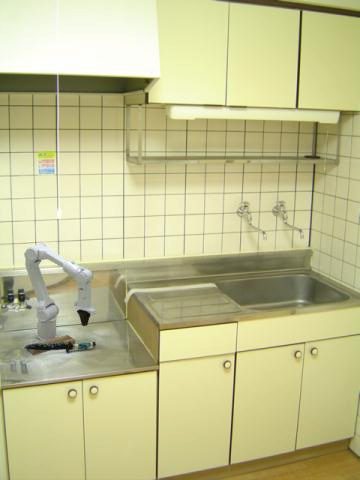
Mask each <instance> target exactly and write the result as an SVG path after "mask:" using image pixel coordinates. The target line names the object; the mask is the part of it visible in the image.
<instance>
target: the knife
mask: <svg viewBox="0 0 360 480" xmlns="http://www.w3.org/2000/svg"><path fill="white" fill-rule="evenodd" d="M35 343H36V342H35ZM29 344H30V345H28V344H26V345H27V346H24V349H26V350H27V349H30V350H50V351H60V350H62V351H63V350H64V351H65V352H66V354H68V353H69V352H70V351H73V350H74V351H76V350H91V349H93V348H95V347H96V346H97V345H96V341H89V342H81V343H75V344H72V343H71V341H69V343H68V344H64V341H63V342H60V343H53V344H46V343H36V344H32V343H29Z"/></svg>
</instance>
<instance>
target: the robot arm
mask: <svg viewBox="0 0 360 480" xmlns="http://www.w3.org/2000/svg"><path fill="white" fill-rule="evenodd" d="M23 255H24V259H25V262H24V263H25V264H24V266H25V268H26V272H27V275H28V277H29V280H30V283H31V286H32V289H33V292H34V295H35V298H36V301H37V304H36V307H35V310H36V318H37V323H36V329H37V334H35V337H36V338H37V339H39V340H40V341H45V340H49V339H53V338H57V337H59V335H57V316H59V313H60V309H59V306H58V305H57V304H56V302H55V299H52V298H50V297H51V296H50V294H49V292H48V288H47V287H46V283H45V280H44V278H43V275H42V271H41V268H40V264H41V262H42V261H43V260H48V261H50V262H52V263H54V264H55V265H57V266H60V267H62V271H63V272H64V273H65V274H67V275H69V276H70V277H72V278H74V279H75V282H76V283H77V301H74V304H73V305H74V307H75V309H76V312H77V314H78V317H79V320H80V325H81V326H82V327H87V326H88V325H89V321H90V318H91V316H95V315H96V309H95V308H94V307H93V306H92V280H93V279H94V273H93V271H92V270H91V269H90V268H84V267H83V266H81V265H79V264H78V263H76V261H75V260H66V259H65V258H64V257H62V256H61V255H60V254H58V253H57V252H55V251H54V250H52V248H51V247H50V246H49V245H48V244H46V243H43V242H40V243H38V244H36V245H34V246H29V247H27V249H26V250H25V252H24V253H23Z"/></svg>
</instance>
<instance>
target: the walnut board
mask: <svg viewBox="0 0 360 480" xmlns="http://www.w3.org/2000/svg"><path fill="white" fill-rule="evenodd" d="M63 341H64V344H68V343H69V341H71V343H72V344H76V339H75V338H73V337H72V336H70V335H69V334H65V335H62V336H58V337H57V338H53V339H49V340H45V341H41V340H40V341H37V342H33V343H29V344H26V346H27V345H30V344H36V343H46V344H53V343H60V342H63ZM26 350H27V351H28V352H29V353H30V354H32V355H33V356H34V355H38V354H43V353H46V352H50V351H51V350H30V349H26Z"/></svg>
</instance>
